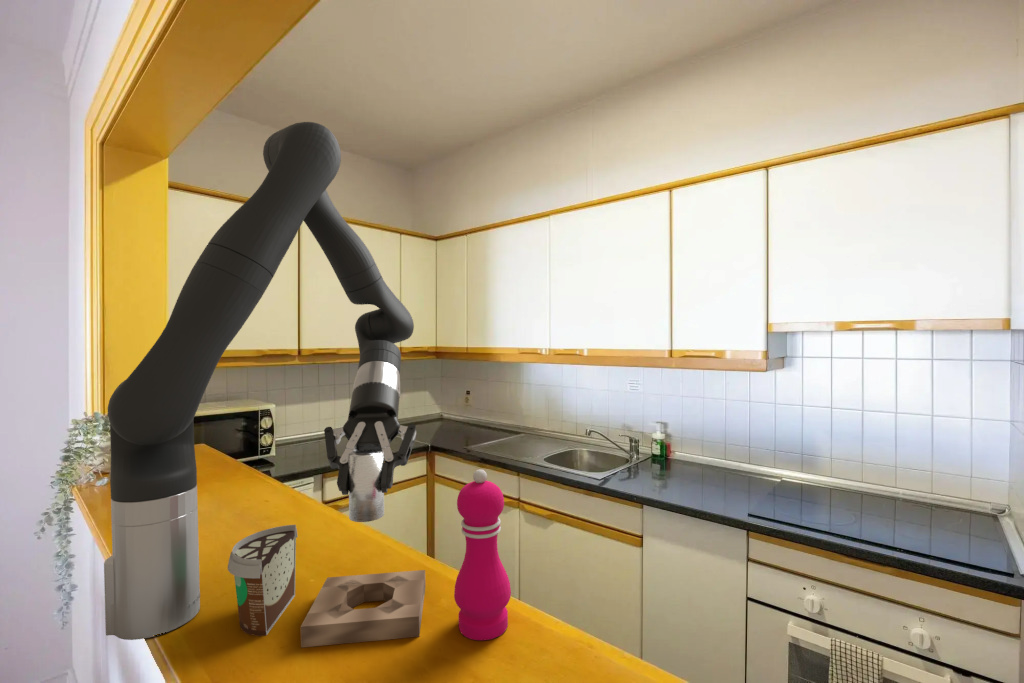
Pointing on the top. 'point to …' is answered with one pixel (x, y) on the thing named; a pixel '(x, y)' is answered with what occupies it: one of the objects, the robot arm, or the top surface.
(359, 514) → the bushing
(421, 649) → the top surface
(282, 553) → the food container
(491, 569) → the pepper mill
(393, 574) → the frame
